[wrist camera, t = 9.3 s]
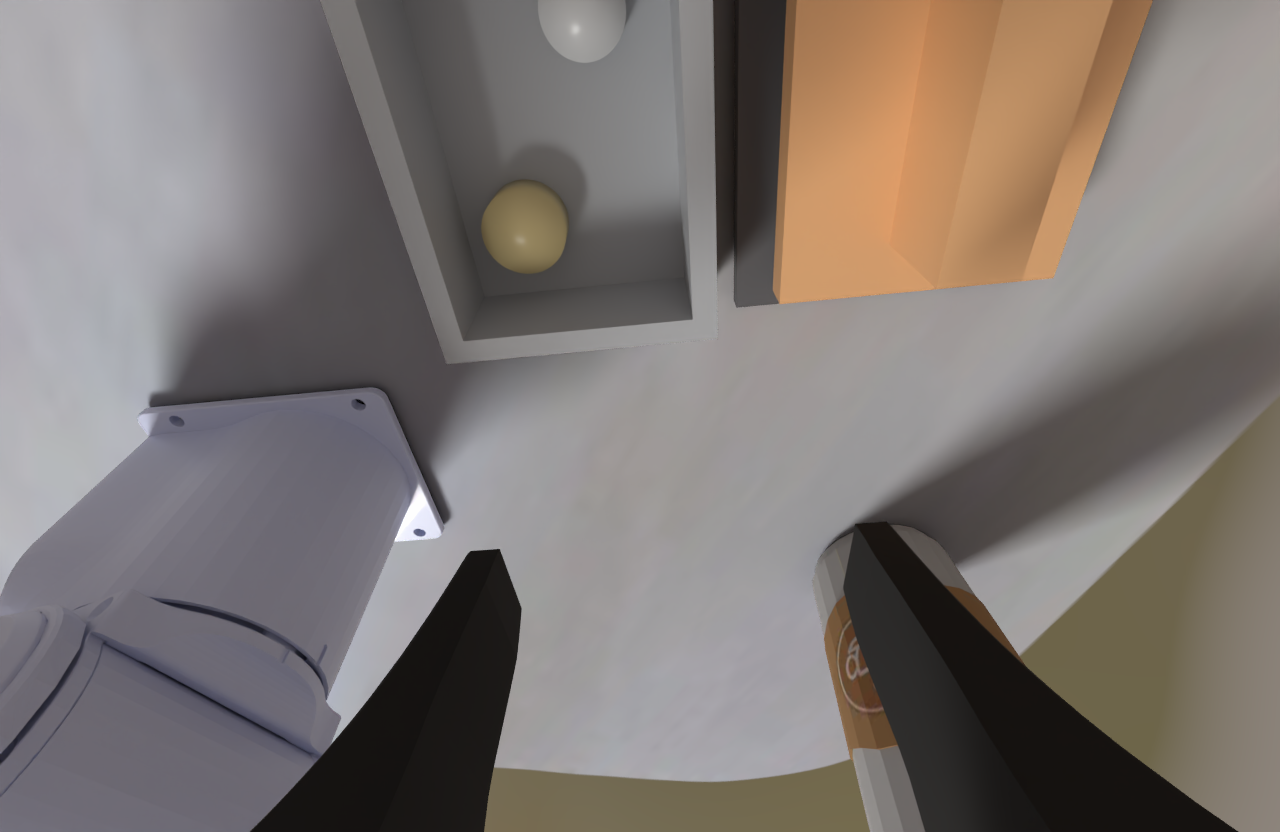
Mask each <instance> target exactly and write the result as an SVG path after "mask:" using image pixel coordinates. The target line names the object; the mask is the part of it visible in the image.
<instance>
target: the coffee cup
mask: <svg viewBox="0 0 1280 832" xmlns="http://www.w3.org/2000/svg"><path fill="white" fill-rule="evenodd" d="M891 526H892V527H893V528H894V530H895V531H896V532H897V533H898V534H899V535H900V537H901V538H902V539H903V540H904V541H905V542H906V543H907V545H908V546H909V547H910V548H911V549H912V550H913V551H914V553H915V554H916V555H917V556H918V557H919V558H920V559H921V560H922V562H923V563H924V564H925V565H926V566H927V567H928V568H929V569H930V570H931V571H932V573H933V574H934V575H935V576H936V577H937V578H938V579H939V580H940V581H941V582H942V584H943V585H944V586H945V587H946V588H947V589H948V590H949V591H950V592H951V593H952V594H953V595H954V596H955V597H956V598H957V599H958V600H959V601H960V602H961V603H962V604H963V606H964V607H965V608H966V609H967V610H968V611H969V612H970V613H971V614H972V615H973V616H974V617H975V618H976V619H977V620H978V621H979V622H980V623H981V624H982V625H983V626H984V627H985V628H986V629H987V630H988V631H989V632H990V633H991V634H992V635H993V636H994V637H995V638H996V639H997V640H998V641H999V642H1000V643H1001V644H1003V645H1004V646H1005V647H1006V648H1007V649H1008V650H1009V651H1010V652H1011V653H1012V654H1013V655H1014V656H1015V657H1016V658H1017V659H1018V660H1020V661H1021V662H1022V663H1023V661H1022V660H1021V658H1020V657H1019V655H1018V654H1017V652H1016V651H1015V650H1014V648H1013V647H1012V645H1011V644H1010V642H1009V641H1008V639H1007V638H1006V636H1005V635H1004V633H1003V632H1002V631H1001V629H1000V628H999V626H998V625H997V623H996V622H995V620H994V619H993V617H992V616H991V615H990V613H989V612H988V610H987V609H986V607H985V606H984V604H983V603H982V602H981V601H980V600H979V599H978V598H977V597H976V596H975V594H974V593H973V591H972V590H971V588H970V587H969V585H968V584H967V582H966V581H965V580H964V578H963V577H962V575H961V574H960V572H959V571H958V569H957V568H956V566H955V565H954V563H953V562H952V560H951V559H950V557H949V556H948V554H947V553H946V552H945V550H944V549H943V548H942V547H941V546H940V545H939V543H938V542H937V541H936V540H934V539H932V538H930V537H928V536H926V535H925V534H924V533H922V532H920V531H918V530H916V529H914V528H912V527H907V526H902V525H891ZM853 533H854V532H852V533H850V534H848V535H846V536H844V537H842V538H841V539H839V540H837V541H836V542H834V543H833V544H832V545H831V546H830V547H828V548H827V549H826V550H825V551H824V553H823V554H822V556H821V557H820V558H819V560H818V563H817V566H816V569H815V575H814V578H813V591H814V596H815V600H816V604H817V608H818V613H819V617H820V621H821V625H822V630H823V634H824V641H825V651H826V655H827V659H828V664H829V668H830V672H831V677H832V681H833V685H834V690H835V694H836V698H837V702H838V707H839V711H840V715H841V720H842V724H843V728H844V733H845V737H846V741H847V746H848V750H849V754H850V758H851V759H852V761H853V762H854V765H855V769H856V774H857V778H858V782H859V786H860V791H861V795H862V799H863V803H864V808H865V812H866V816H867V820H868V825H869V828H870V832H925V830H924V826H923V823H922V820H921V816H920V813H919V809H918V806H917V802H916V799H915V796H914V792H913V789H912V785H911V782H910V779H909V775H908V773H907V770H906V767H905V764H904V761H903V758H902V755H901V752H900V750H899V747H898V745H897V742H896V739H895V737H894V734H893V732H892V729H891V727H890V724H889V722H888V719H887V716H886V714H885V711H884V709H883V706H882V704H881V701H880V699H879V696H878V693H877V691H876V688H875V686H874V683H873V681H872V678H871V676H870V673H869V670H868V668H867V665H866V663H865V660H864V657H863V655H862V652H861V649H860V647H859V644H858V641H857V639H856V636H855V632H854V628H853V625H852V621H851V617H850V614H849V610H848V606H847V602H846V598H845V594H844V590H843V585H844V580H845V574H846V569H847V564H848V559H849V554H850V549H851V543H852V538H853ZM1023 664H1024V663H1023ZM1024 665H1025V664H1024Z"/></svg>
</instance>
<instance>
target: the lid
mask: <svg viewBox="0 0 1280 832" xmlns="http://www.w3.org/2000/svg"><path fill="white" fill-rule="evenodd" d="M1152 1H1153V0H787V1H786V22H785V43H784V64H783V85H782V106H781V127H780V148H779V169H778V190H777V211H776V231H775V252H774V273H773V292H774V294H775V296H776V298H777V300H778V302H779V304H786V303H796V302H807V301H817V300H828V299H838V298H849V297H859V296H870V295H880V294H891V293H901V292H912V291H922V290H933V289H943V288H954V287H965V286H975V285H986V284H996V283H1007V282H1017V281H1028V280H1038V279H1049V278H1053V277H1054V275H1055V272H1056V269H1057V266H1058V263H1059V261H1060V258H1061V255H1062V252H1063V249H1064V247H1065V244H1066V241H1067V238H1068V236H1069V233H1070V230H1071V227H1072V224H1073V222H1074V219H1075V216H1076V213H1077V210H1078V208H1079V205H1080V202H1081V199H1082V197H1083V194H1084V191H1085V188H1086V185H1087V183H1088V180H1089V177H1090V174H1091V171H1092V169H1093V166H1094V163H1095V160H1096V157H1097V155H1098V152H1099V149H1100V146H1101V144H1102V141H1103V138H1104V135H1105V132H1106V130H1107V127H1108V124H1109V121H1110V118H1111V116H1112V113H1113V110H1114V107H1115V104H1116V102H1117V99H1118V96H1119V93H1120V91H1121V88H1122V85H1123V82H1124V79H1125V77H1126V74H1127V71H1128V68H1129V65H1130V63H1131V60H1132V57H1133V54H1134V51H1135V49H1136V46H1137V43H1138V40H1139V38H1140V35H1141V32H1142V29H1143V26H1144V24H1145V21H1146V18H1147V15H1148V12H1149V10H1150V7H1151V4H1152Z"/></svg>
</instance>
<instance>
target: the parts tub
mask: <svg viewBox="0 0 1280 832" xmlns="http://www.w3.org/2000/svg"><path fill="white" fill-rule="evenodd" d="M320 2H321V5H322V8H323V11H324V14H325V17H326V20H327V22H328V25H329V28H330V31H331V34H332V37H333V40H334V43H335V45H336V48H337V51H338V54H339V57H340V60H341V63H342V65H343V68H344V71H345V74H346V77H347V80H348V83H349V86H350V88H351V91H352V94H353V97H354V100H355V103H356V106H357V109H358V111H359V114H360V117H361V120H362V123H363V126H364V129H365V132H366V134H367V137H368V140H369V143H370V146H371V149H372V152H373V155H374V157H375V160H376V163H377V166H378V169H379V172H380V175H381V178H382V180H383V183H384V186H385V189H386V192H387V195H388V198H389V201H390V203H391V206H392V209H393V212H394V215H395V218H396V221H397V224H398V226H399V229H400V232H401V235H402V238H403V241H404V244H405V246H406V249H407V252H408V255H409V258H410V261H411V264H412V267H413V269H414V272H415V275H416V278H417V281H418V284H419V287H420V290H421V292H422V295H423V298H424V301H425V304H426V307H427V310H428V313H429V315H430V318H431V321H432V324H433V327H434V330H435V333H436V336H437V338H438V341H439V344H440V347H441V350H442V353H443V356H444V359H445V361H446V364H456V363H467V362H477V361H488V360H499V359H510V358H520V357H531V356H542V355H553V354H563V353H574V352H585V351H596V350H606V349H617V348H628V347H639V346H649V345H660V344H671V343H682V342H692V341H703V340H714V339H718V314H717V245H716V176H715V108H714V39H713V0H320Z"/></svg>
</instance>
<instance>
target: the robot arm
mask: <svg viewBox="0 0 1280 832" xmlns="http://www.w3.org/2000/svg"><path fill="white" fill-rule="evenodd" d="M355 399H359V400H361V401H363V402H364V403H365V405H364V404H360V403H358V402H357V401H356V400H355ZM179 417H180V418H181V419H180V418H179ZM137 420H138V422H139V424H140V425H141V427H142V428H143V429H144V431H145V432H146V433H147V434H148V436H149V437H148V438H147V439H146V440H145V441H144V442H143V443H142V444H141V445H140V446H139V447H138V448H136V449H135V450H134V451H133V452H132V453H131V454H130V455H129V456H128V457H127V458H126V459H125V460H123V461H122V462H121V463H120V464H119V465H118V466H117V467H116V468H115V469H114V470H113V471H111V472H110V473H109V474H108V475H107V476H106V477H105V478H104V479H103V480H102V481H101V482H100V483H98V484H97V485H96V486H95V487H94V488H93V489H92V490H91V491H90V492H89V493H88V494H87V495H85V496H84V497H83V498H82V499H81V500H80V501H79V502H78V503H77V504H76V505H75V506H73V507H72V508H71V509H70V510H69V511H68V512H67V513H66V514H65V515H64V516H63V517H62V518H60V519H59V520H58V521H57V522H56V523H55V524H54V525H53V526H52V527H51V528H50V529H48V530H47V531H46V532H45V533H44V534H43V535H42V536H41V537H40V538H39V539H38V540H37V541H35V542H34V543H33V544H32V545H31V546H30V548H29V549H28V550H27V551H26V552H25V553H24V554H23V555H22V557H21V558H20V559H19V561H18V562H17V564H16V565H15V567H14V568H13V570H12V571H11V573H10V575H9V577H8V579H7V581H6V583H5V585H4V588H3V591H2V594H1V597H0V832H484V826H485V819H486V811H487V803H488V795H489V790H490V784H491V778H492V773H493V768H494V763H495V759H496V754H497V749H498V745H499V740H500V736H501V731H502V726H503V722H504V717H505V712H506V708H507V703H508V698H509V694H510V689H511V684H512V679H513V674H514V670H515V665H516V660H517V652H518V642H519V633H520V621H521V606H520V603H519V600H518V598H517V595H516V592H515V590H514V587H513V584H512V581H511V579H510V576H509V573H508V571H507V568H506V565H505V562H504V560H503V557H502V554H501V552H500V549H494V550H480V551H470V552H469V553H468V554H467V556H466V557H465V559H464V561H463V562H462V564H461V565H460V567H459V569H458V570H457V572H456V573H455V575H454V577H453V578H452V580H451V581H450V583H449V585H448V586H447V588H446V589H445V591H444V593H443V594H442V596H441V597H440V599H439V600H438V602H437V603H436V605H435V606H434V608H433V610H432V611H431V613H430V614H429V616H428V617H427V619H426V620H425V622H424V623H423V625H422V626H421V627H420V629H419V630H418V632H417V633H416V635H415V636H414V638H413V639H412V641H411V642H410V644H409V645H408V646H407V648H406V649H405V651H404V652H403V654H402V655H401V656H400V658H399V659H398V661H397V662H396V663H395V665H394V666H393V667H392V669H391V670H390V671H389V673H388V674H387V675H386V677H385V678H384V679H383V681H382V682H381V683H380V685H379V686H378V687H377V689H376V690H375V691H374V693H373V694H372V695H371V697H370V698H369V699H368V701H367V702H366V703H365V704H364V706H363V707H362V708H361V709H360V711H359V712H358V713H357V714H356V716H355V717H354V718H353V719H352V720H351V722H350V723H349V724H348V725H347V727H346V728H345V729H344V730H343V731H342V732H341V734H340V735H339V736H338V737H337V738H336V740H335V741H334V742H333V743H332V740H333V737H334V735H335V732H336V730H337V727H338V725H339V722H340V720H341V716H340V715H339V714H338V713H336V712H335V711H333V710H332V709H331V708H330V707H329V706H328V704H327V702H326V700H327V698H328V696H329V693H330V691H331V688H332V686H333V684H334V681H335V679H336V677H337V674H338V672H339V670H340V667H341V665H342V663H343V660H344V658H345V656H346V653H347V651H348V649H349V646H350V644H351V642H352V639H353V637H354V635H355V632H356V630H357V628H358V625H359V623H360V621H361V618H362V616H363V613H364V611H365V609H366V606H367V604H368V602H369V599H370V597H371V595H372V592H373V590H374V588H375V585H376V583H377V581H378V578H379V576H380V574H381V571H382V569H383V567H384V564H385V562H386V560H387V557H388V555H389V553H390V550H391V548H392V546H393V543H394V542H397V541H410V540H422V539H434V538H438V537H440V536H441V535H442V533H443V530H444V524H443V522H442V520H441V518H440V515H439V513H438V511H437V508H436V506H435V504H434V502H433V499H432V497H431V495H430V492H429V490H428V488H427V486H426V483H425V481H424V479H423V476H422V474H421V472H420V470H419V467H418V465H417V463H416V460H415V458H414V456H413V454H412V451H411V449H410V447H409V444H408V442H407V440H406V438H405V435H404V433H403V431H402V428H401V426H400V424H399V422H398V419H397V417H396V415H395V412H394V410H393V408H392V406H391V403H390V401H389V399H388V397H387V395H386V394H385V393H384V392H383V391H382V390H380V389H377V388H372V387H368V388H357V389H346V390H336V391H325V392H314V393H303V394H292V395H281V396H270V397H259V398H248V399H237V400H227V401H216V402H205V403H194V404H183V405H172V406H161V407H150V408H146V409H145V410H143V411H142V412H141V413H140V414H139V415H138V416H137ZM421 529H422V530H421ZM843 590H844V594H845V598H846V602H847V606H848V610H849V614H850V617H851V621H852V625H853V628H854V632H855V636H856V639H857V641H858V644H859V647H860V649H861V652H862V655H863V657H864V660H865V663H866V665H867V668H868V670H869V673H870V676H871V678H872V681H873V683H874V686H875V688H876V691H877V693H878V696H879V699H880V701H881V704H882V706H883V709H884V711H885V714H886V716H887V719H888V722H889V724H890V727H891V729H892V732H893V734H894V737H895V739H896V742H897V745H898V747H899V750H900V752H901V755H902V758H903V761H904V764H905V767H906V770H907V773H908V775H909V779H910V782H911V785H912V789H913V792H914V796H915V799H916V802H917V806H918V809H919V813H920V816H921V820H922V823H923V826H924V830H925V832H1238V831H1236V830H1235V829H1234V828H1232V827H1231V826H1229V825H1228V824H1226V823H1225V822H1224V821H1222V820H1221V819H1219V818H1218V817H1216V816H1215V815H1213V814H1212V813H1211V812H1209V811H1207V810H1206V809H1205V808H1203V807H1202V806H1200V805H1199V804H1198V803H1196V802H1195V801H1193V800H1192V799H1191V798H1189V797H1188V796H1187V795H1185V794H1184V793H1183V792H1181V791H1180V790H1179V789H1177V788H1176V787H1175V786H1173V785H1172V784H1171V783H1169V782H1168V781H1167V780H1165V779H1164V778H1163V777H1161V776H1160V775H1159V774H1157V773H1156V772H1154V771H1153V770H1152V769H1150V768H1149V767H1148V766H1146V765H1145V764H1144V763H1142V762H1141V761H1140V760H1138V759H1137V758H1136V757H1134V756H1133V755H1132V754H1130V753H1129V752H1128V751H1126V750H1125V749H1124V748H1122V747H1121V746H1120V745H1118V744H1117V743H1116V742H1114V741H1113V740H1112V739H1111V738H1110V737H1108V736H1107V735H1106V734H1105V733H1103V732H1102V731H1101V730H1100V729H1099V728H1097V727H1096V726H1095V725H1094V724H1092V723H1091V722H1089V720H1087V719H1086V718H1085V717H1084V716H1082V715H1081V714H1080V713H1079V712H1078V711H1076V710H1075V709H1074V708H1073V707H1072V706H1071V705H1069V704H1068V703H1067V702H1066V701H1065V700H1063V699H1062V698H1061V697H1060V696H1059V695H1057V694H1056V693H1055V692H1054V691H1053V690H1052V689H1051V688H1049V687H1048V686H1047V685H1046V684H1045V683H1044V682H1043V681H1042V680H1040V679H1039V678H1038V677H1037V676H1036V675H1035V674H1034V673H1033V672H1032V671H1030V670H1029V669H1028V668H1027V667H1026V666H1025V665H1024V664H1023V663H1022V662H1021V661H1020V660H1018V659H1017V658H1016V657H1015V656H1014V655H1013V654H1012V653H1011V652H1010V651H1009V650H1008V649H1007V648H1006V647H1005V646H1004V645H1003V644H1001V643H1000V642H999V641H998V640H997V639H996V638H995V637H994V636H993V635H992V634H991V633H990V632H989V631H988V630H987V629H986V628H985V627H984V626H983V625H982V624H981V623H980V622H979V621H978V620H977V619H976V618H975V617H974V616H973V615H972V614H971V613H970V612H969V611H968V610H967V609H966V608H965V607H964V606H963V604H962V603H961V602H960V601H959V600H958V599H957V598H956V597H955V596H954V595H953V594H952V593H951V592H950V591H949V590H948V589H947V588H946V587H945V586H944V585H943V584H942V582H941V581H940V580H939V579H938V578H937V577H936V576H935V575H934V574H933V573H932V571H931V570H930V569H929V568H928V567H927V566H926V565H925V564H924V563H923V562H922V560H921V559H920V558H919V557H918V556H917V555H916V554H915V553H914V551H913V550H912V549H911V548H910V547H909V546H908V545H907V543H906V542H905V541H904V540H903V539H902V538H901V537H900V535H899V534H898V533H897V532H896V531H895V530H894V528H893V527H892V526H891V525H890V524H889V523H887V522H876V523H862V524H855V528H854V533H853V538H852V543H851V549H850V554H849V559H848V564H847V569H846V574H845V580H844V585H843ZM331 743H332V744H331Z"/></svg>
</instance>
